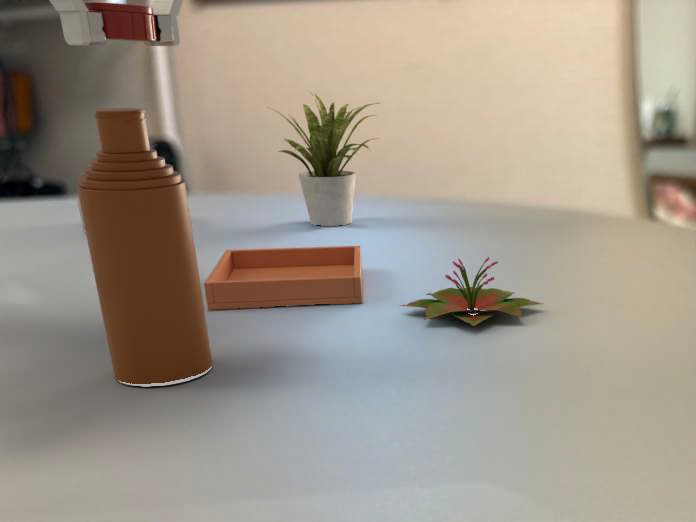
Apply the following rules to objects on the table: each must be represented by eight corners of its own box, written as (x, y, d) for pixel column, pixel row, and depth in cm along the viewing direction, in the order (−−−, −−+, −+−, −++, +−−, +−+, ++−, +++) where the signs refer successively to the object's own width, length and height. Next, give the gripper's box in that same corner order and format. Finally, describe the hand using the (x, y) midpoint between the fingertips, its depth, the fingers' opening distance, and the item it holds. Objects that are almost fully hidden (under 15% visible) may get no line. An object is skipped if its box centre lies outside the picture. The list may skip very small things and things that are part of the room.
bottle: (104, 390, 57) (47, 113, 50) (126, 359, 62) (78, 106, 56) (205, 384, 58) (163, 113, 51) (218, 353, 64) (182, 106, 57)
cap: (75, 36, 50) (70, 0, 49) (92, 38, 53) (87, 5, 52) (150, 40, 50) (146, 5, 50) (161, 42, 54) (158, 9, 53)
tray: (207, 310, 74) (203, 283, 73) (229, 273, 86) (225, 249, 85) (362, 303, 76) (360, 277, 75) (362, 268, 88) (360, 245, 87)
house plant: (418, 220, 113) (412, 89, 107) (345, 238, 102) (334, 93, 96) (338, 209, 120) (327, 86, 113) (262, 225, 109) (246, 89, 102)
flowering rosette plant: (373, 313, 73) (370, 261, 71) (470, 286, 82) (469, 239, 80) (474, 343, 66) (473, 286, 64) (569, 310, 75) (570, 259, 73)
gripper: (-94, -303, 37) (-17, 45, 42) (261, -192, 53) (284, 47, 59) (-168, -280, 39) (-87, 43, 45) (192, -182, 56) (220, 46, 61)
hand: (126, 46), depth 52 cm, fingers closed on cap, 4 cm apart
